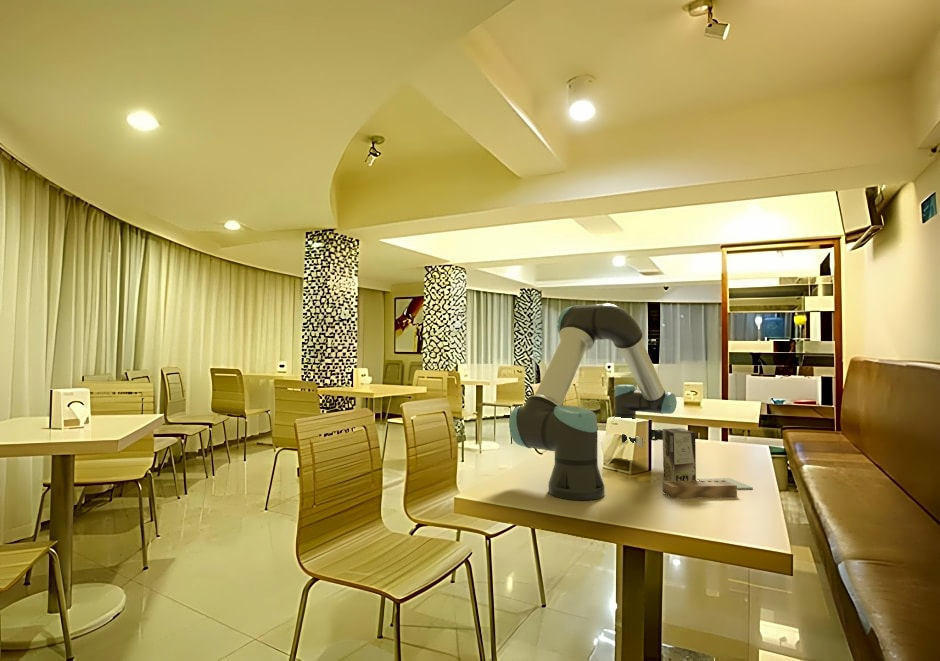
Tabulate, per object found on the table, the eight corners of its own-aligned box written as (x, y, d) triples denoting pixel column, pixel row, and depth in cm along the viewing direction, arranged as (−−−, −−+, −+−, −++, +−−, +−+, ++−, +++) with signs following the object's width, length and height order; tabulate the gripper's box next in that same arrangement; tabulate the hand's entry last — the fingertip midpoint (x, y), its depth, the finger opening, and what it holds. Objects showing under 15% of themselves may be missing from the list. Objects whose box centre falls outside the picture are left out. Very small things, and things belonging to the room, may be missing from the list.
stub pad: (717, 490, 146) (717, 488, 146) (697, 480, 157) (697, 478, 157) (752, 489, 147) (752, 487, 147) (730, 479, 158) (730, 478, 158)
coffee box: (697, 490, 145) (696, 432, 146) (674, 490, 146) (673, 432, 146) (684, 482, 155) (683, 427, 155) (662, 482, 155) (661, 427, 155)
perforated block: (672, 498, 137) (672, 485, 138) (662, 492, 143) (662, 480, 143) (737, 496, 139) (736, 484, 139) (725, 491, 144) (725, 479, 144)
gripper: (670, 441, 183) (701, 453, 162) (601, 442, 181) (624, 455, 160) (669, 420, 184) (700, 429, 163) (600, 421, 182) (623, 430, 161)
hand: (662, 442), depth 161 cm, fingers open, 13 cm apart
